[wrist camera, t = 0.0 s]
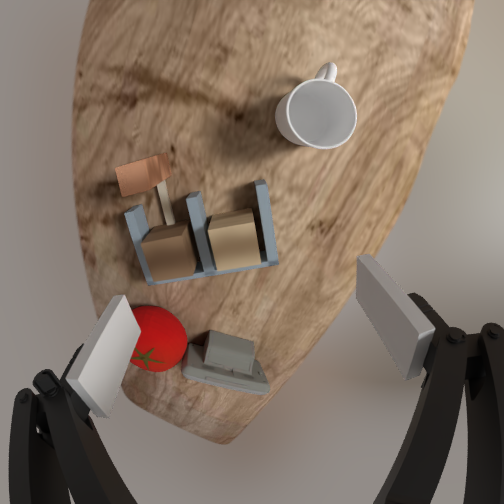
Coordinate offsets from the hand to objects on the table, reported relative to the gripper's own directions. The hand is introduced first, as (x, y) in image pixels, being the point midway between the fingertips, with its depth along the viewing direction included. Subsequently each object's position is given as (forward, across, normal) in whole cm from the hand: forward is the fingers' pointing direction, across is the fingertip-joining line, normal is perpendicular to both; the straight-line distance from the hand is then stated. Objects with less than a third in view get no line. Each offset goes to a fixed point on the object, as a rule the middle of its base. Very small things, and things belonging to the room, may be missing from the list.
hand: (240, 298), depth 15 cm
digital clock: (+28, -8, -30) cm, 42 cm away
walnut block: (+28, -11, 0) cm, 30 cm away
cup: (+28, +12, +11) cm, 33 cm away
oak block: (+28, -2, -6) cm, 29 cm away
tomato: (+28, -19, -21) cm, 40 cm away
